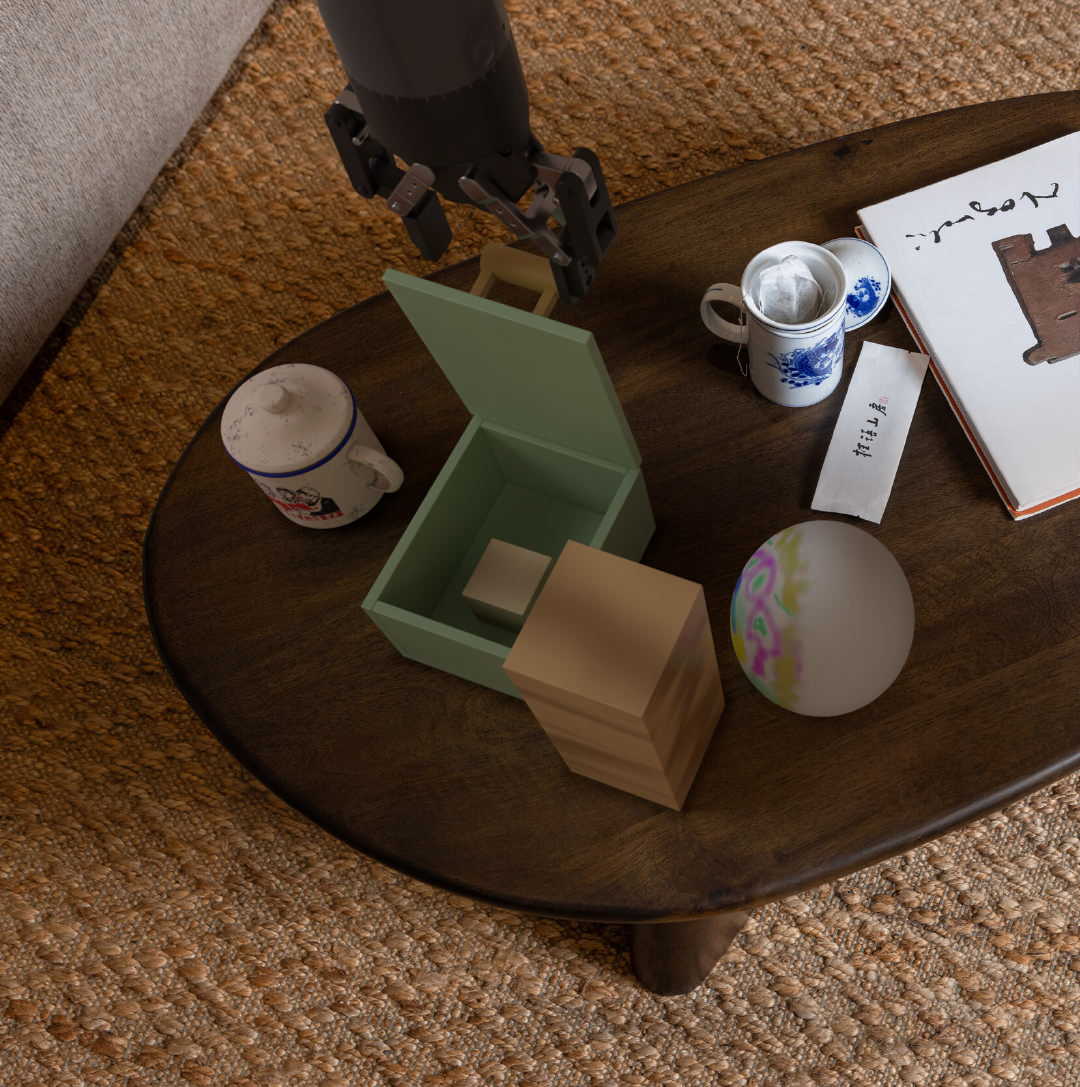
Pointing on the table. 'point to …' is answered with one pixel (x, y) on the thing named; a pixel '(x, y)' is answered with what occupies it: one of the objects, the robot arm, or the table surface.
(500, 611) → the block
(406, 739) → the table surface
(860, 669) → the decorative egg
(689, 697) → the stand
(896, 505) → the table surface
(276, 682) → the table surface
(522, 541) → the chest
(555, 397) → the lid
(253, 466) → the teacup with lid
